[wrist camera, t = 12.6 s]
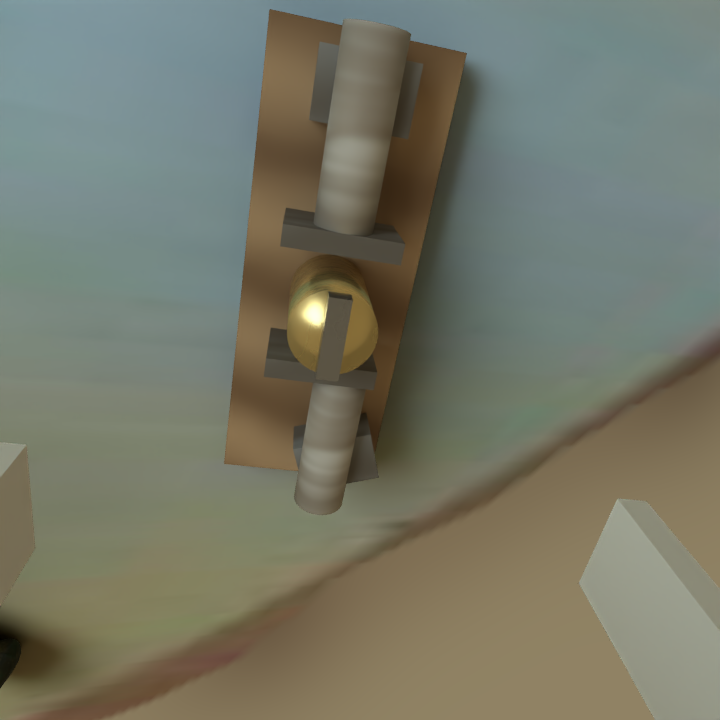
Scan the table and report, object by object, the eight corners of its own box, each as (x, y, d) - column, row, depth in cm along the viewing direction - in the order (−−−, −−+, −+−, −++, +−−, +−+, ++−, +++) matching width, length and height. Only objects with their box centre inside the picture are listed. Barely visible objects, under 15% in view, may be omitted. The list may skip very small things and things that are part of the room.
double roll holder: (272, 15, 26) (263, -7, 21) (456, 56, 27) (493, 45, 22) (228, 445, 36) (214, 507, 30) (365, 459, 37) (376, 521, 32)
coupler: (295, 248, 29) (292, 289, 23) (371, 260, 29) (388, 303, 23) (286, 320, 30) (280, 377, 24) (358, 330, 31) (371, 387, 25)
